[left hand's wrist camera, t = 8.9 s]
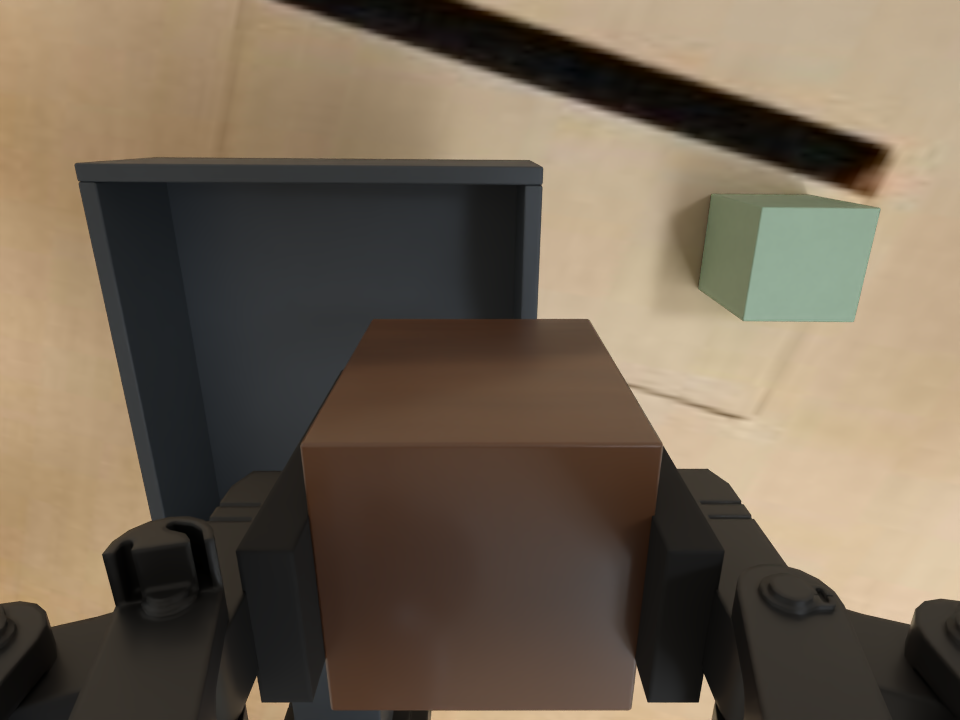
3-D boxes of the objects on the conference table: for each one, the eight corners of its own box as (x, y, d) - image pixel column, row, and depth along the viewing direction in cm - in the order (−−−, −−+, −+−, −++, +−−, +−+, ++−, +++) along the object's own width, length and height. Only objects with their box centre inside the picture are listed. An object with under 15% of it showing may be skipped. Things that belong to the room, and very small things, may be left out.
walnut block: (371, 318, 14) (298, 443, 8) (589, 318, 14) (664, 443, 8) (384, 504, 16) (330, 711, 10) (577, 503, 16) (632, 712, 10)
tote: (155, 157, 21) (6, 167, 14) (531, 160, 21) (553, 171, 14) (251, 715, 30) (187, 877, 24) (511, 717, 30) (519, 880, 24)
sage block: (711, 193, 31) (762, 206, 25) (808, 194, 31) (881, 207, 25) (697, 289, 33) (742, 321, 27) (790, 289, 33) (854, 322, 27)
